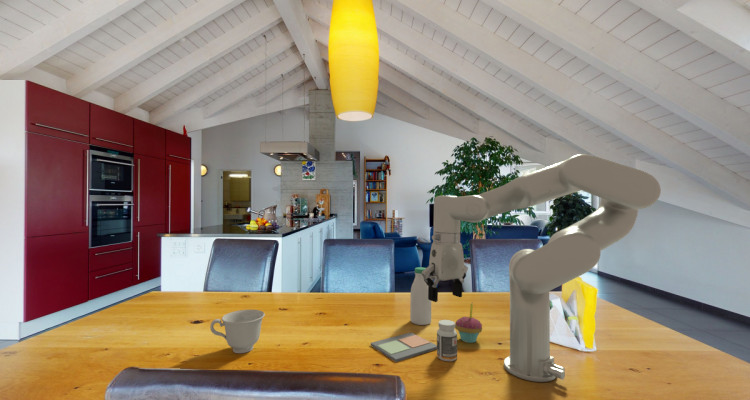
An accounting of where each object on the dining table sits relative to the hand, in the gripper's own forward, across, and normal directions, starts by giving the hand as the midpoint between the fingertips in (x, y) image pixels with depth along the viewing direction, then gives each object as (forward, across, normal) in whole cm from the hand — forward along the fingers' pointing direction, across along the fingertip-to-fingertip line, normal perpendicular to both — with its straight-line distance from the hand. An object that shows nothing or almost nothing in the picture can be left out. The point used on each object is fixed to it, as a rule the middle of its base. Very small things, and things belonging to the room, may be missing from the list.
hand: (445, 298), depth 94 cm
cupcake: (+17, +16, +4) cm, 23 cm away
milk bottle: (+17, +14, +25) cm, 33 cm away
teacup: (+18, -48, +36) cm, 63 cm away
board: (+17, -6, +11) cm, 21 cm away
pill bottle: (+17, 0, -1) cm, 17 cm away
